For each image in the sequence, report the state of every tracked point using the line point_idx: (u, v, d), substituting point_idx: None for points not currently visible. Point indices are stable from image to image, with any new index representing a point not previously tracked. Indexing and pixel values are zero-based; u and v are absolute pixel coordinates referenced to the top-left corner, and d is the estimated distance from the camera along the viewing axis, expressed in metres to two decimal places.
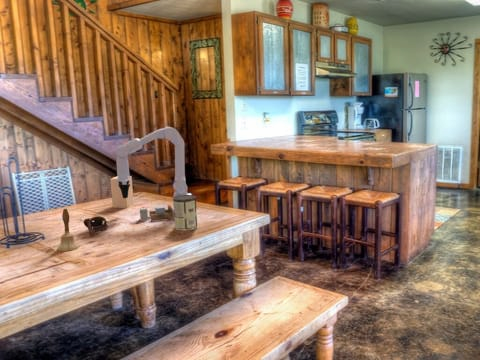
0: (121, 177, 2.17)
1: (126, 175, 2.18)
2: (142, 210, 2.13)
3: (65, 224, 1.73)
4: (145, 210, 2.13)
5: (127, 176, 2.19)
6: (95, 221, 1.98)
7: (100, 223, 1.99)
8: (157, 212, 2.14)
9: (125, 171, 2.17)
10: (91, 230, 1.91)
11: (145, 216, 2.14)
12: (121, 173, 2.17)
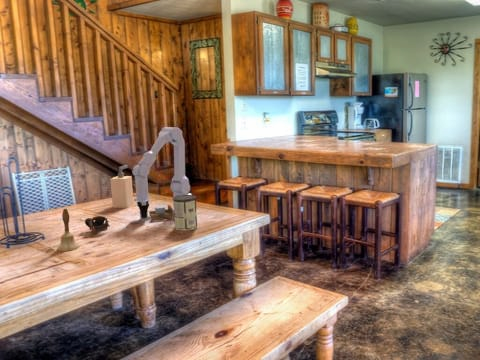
0: (140, 197, 2.11)
1: (145, 195, 2.11)
2: None
3: (65, 224, 1.73)
4: None
5: (146, 196, 2.12)
6: (96, 221, 1.98)
7: (101, 223, 2.00)
8: (157, 212, 2.14)
9: (144, 191, 2.11)
10: (92, 230, 1.92)
11: None
12: (141, 193, 2.10)
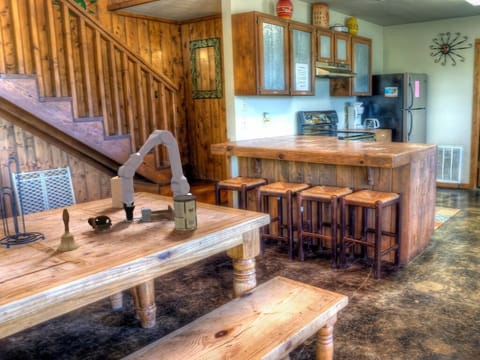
0: (126, 198, 2.09)
1: (131, 196, 2.10)
2: None
3: (65, 224, 1.73)
4: None
5: (132, 197, 2.10)
6: (99, 220, 2.00)
7: (104, 222, 2.01)
8: (143, 213, 2.13)
9: (130, 192, 2.09)
10: (96, 229, 1.93)
11: None
12: (126, 194, 2.08)
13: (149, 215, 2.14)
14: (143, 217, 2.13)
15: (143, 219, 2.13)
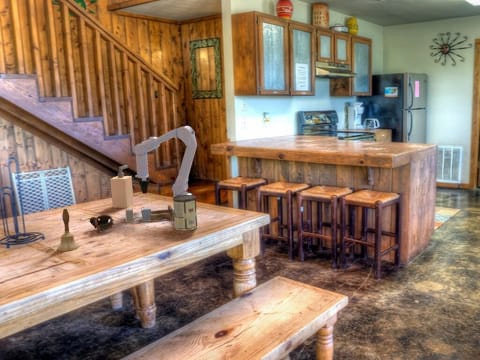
0: (141, 174, 2.28)
1: (145, 172, 2.28)
2: (128, 211, 2.11)
3: (65, 224, 1.73)
4: (131, 211, 2.11)
5: (146, 173, 2.29)
6: (101, 219, 2.01)
7: (106, 221, 2.02)
8: (143, 213, 2.13)
9: (144, 168, 2.28)
10: (98, 228, 1.94)
11: (131, 217, 2.12)
12: (141, 170, 2.27)
13: (149, 215, 2.14)
14: (143, 217, 2.13)
15: (143, 219, 2.13)
